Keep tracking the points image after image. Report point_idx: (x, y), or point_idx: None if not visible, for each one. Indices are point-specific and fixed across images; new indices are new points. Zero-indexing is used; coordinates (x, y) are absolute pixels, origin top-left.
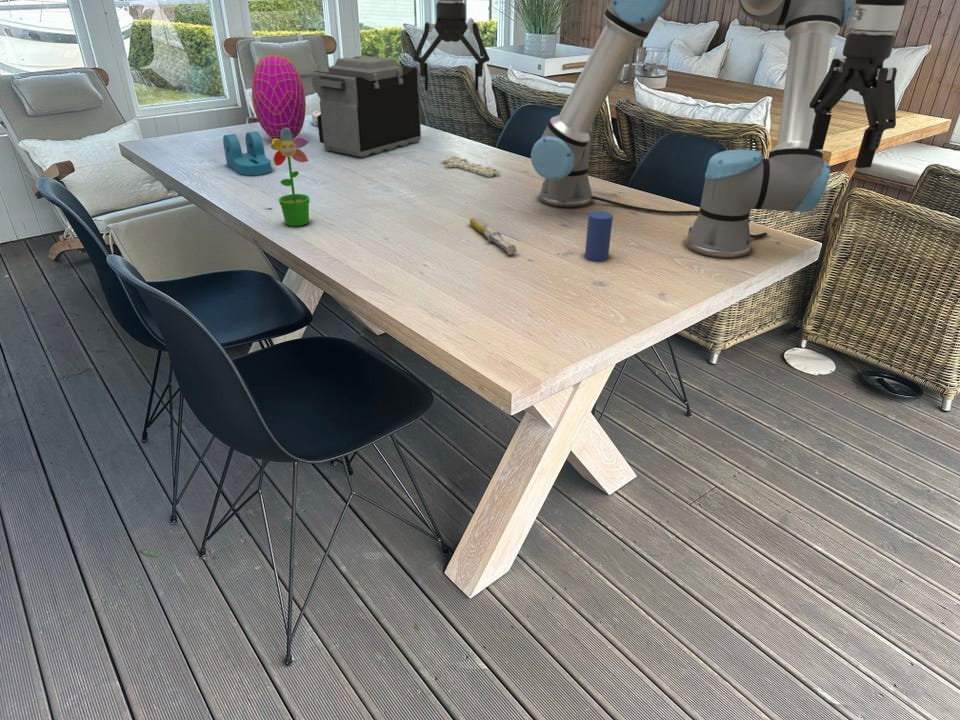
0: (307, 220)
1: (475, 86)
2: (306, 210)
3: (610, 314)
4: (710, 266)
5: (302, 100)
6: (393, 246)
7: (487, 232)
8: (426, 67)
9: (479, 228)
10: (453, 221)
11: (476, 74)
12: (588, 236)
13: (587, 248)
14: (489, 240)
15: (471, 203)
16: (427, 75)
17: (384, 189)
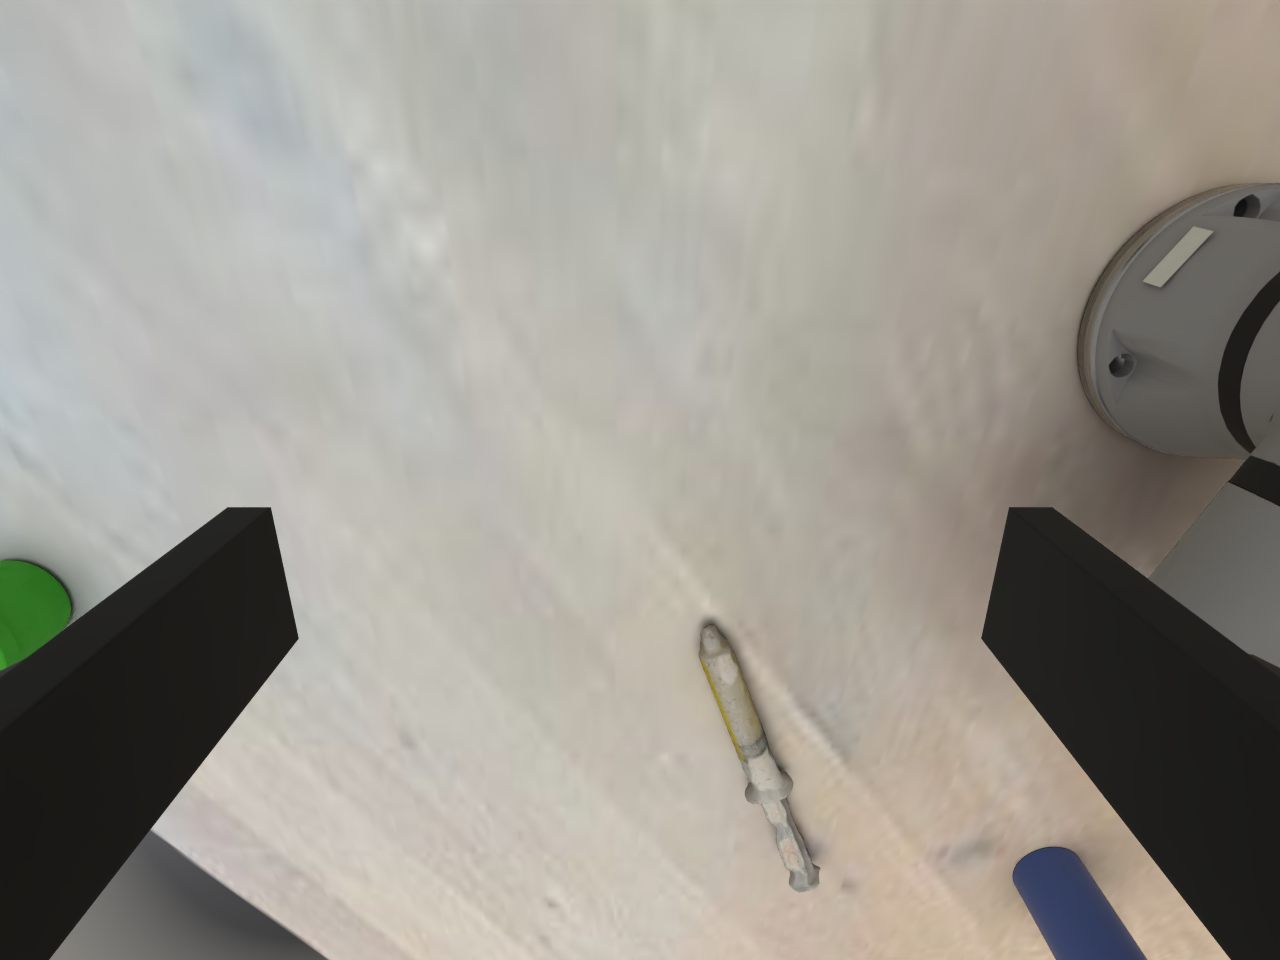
0: (64, 618)
1: (1007, 671)
2: (35, 648)
3: None
4: None
5: None
6: (441, 793)
7: (749, 774)
8: (49, 932)
9: (727, 727)
10: (637, 590)
11: (1135, 810)
12: (1049, 946)
13: (1029, 909)
14: (750, 787)
15: (729, 366)
16: (176, 795)
17: (247, 95)
